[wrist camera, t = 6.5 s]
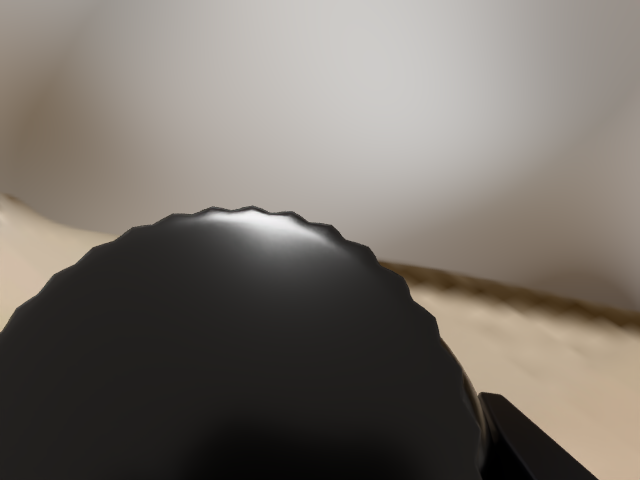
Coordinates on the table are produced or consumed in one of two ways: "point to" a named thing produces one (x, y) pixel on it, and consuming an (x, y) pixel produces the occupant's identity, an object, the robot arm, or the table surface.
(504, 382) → the table surface
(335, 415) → the supplement bottle
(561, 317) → the table surface
